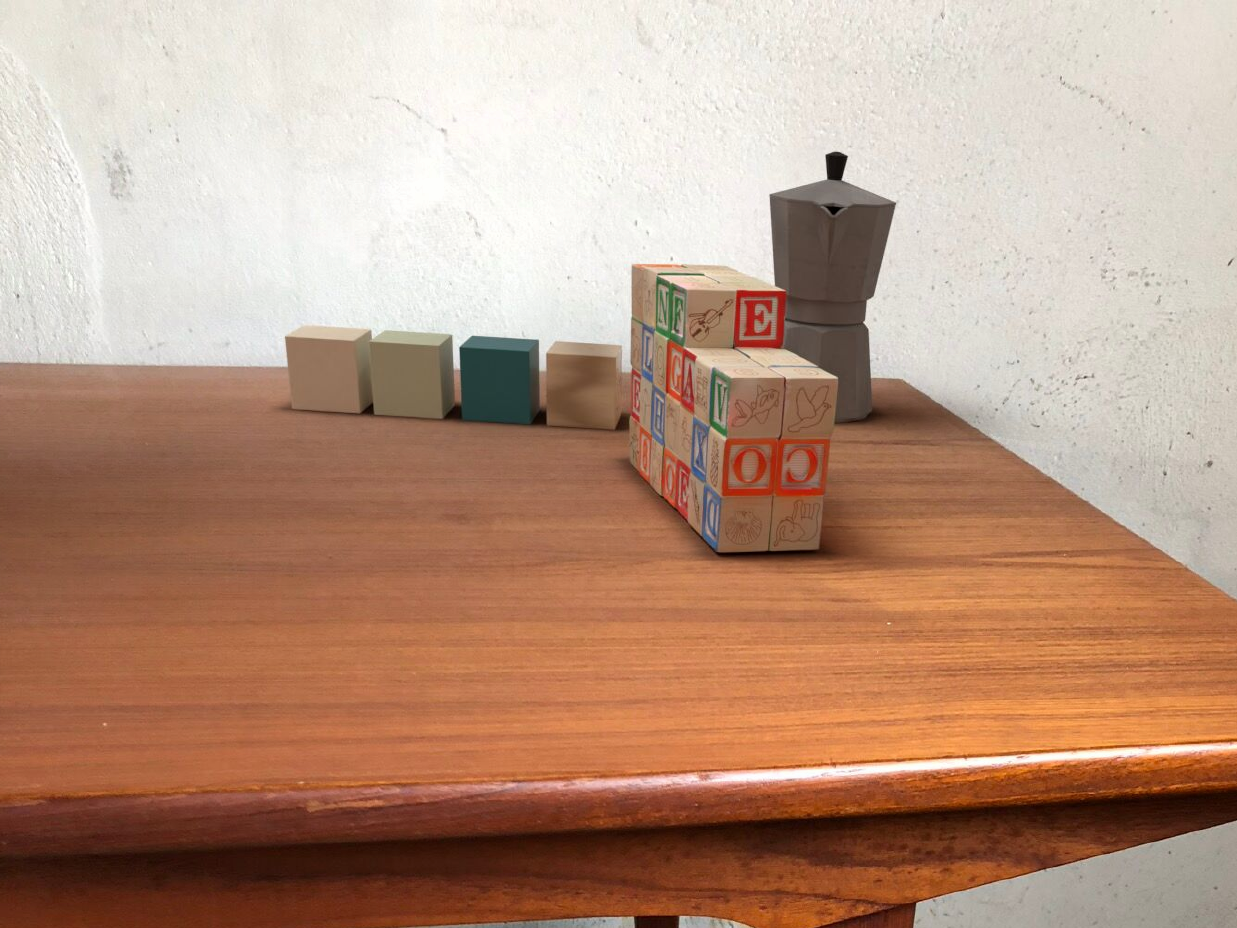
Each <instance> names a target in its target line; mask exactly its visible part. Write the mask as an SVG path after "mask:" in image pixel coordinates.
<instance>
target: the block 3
mask: <svg viewBox="0 0 1237 928" xmlns="http://www.w3.org/2000/svg"><path fill="white" fill-rule="evenodd" d="M545 362H546V363H545V364H546V365H545V374H546V375H545V380H546V381H545V385H546V387H545V389H546V390H545V391H546V392H545V393H546V395H545V396H546V426H548V427H561V428H562V427H563V428H578V429H596V430H607V431H608V430H609V431H615V430H616V428H617V425H618V423H619V421H620V418H621V415H622V379H623V378H622V377H623V370H622V369H623V345H622V344H607V343H594V342H593V343H591V342H576V341H560V340H555V341H554V342H553V343H552V345H551V346H550V347H549V349H548V350H547V351H546V353H545Z"/></svg>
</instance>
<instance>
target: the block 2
mask: <svg viewBox="0 0 1237 928" xmlns="http://www.w3.org/2000/svg"><path fill="white" fill-rule="evenodd" d="M453 342H454V341H453V334H451V333H437V332H433V333H432V332H422V331H421V332H420V331H406V330H405V331H404V330H392V329H391V330H389V329H385V330H383V331H382V332H380V333H378V334H377V335H376V336H374V337H372V340H370V341H369V349H370V363H371V377H372V391H373V403H372V404H373V405H372V406H373V415H375V416H389V417H402V418H403V417H405V418H418V419H435V420H443V419H444V418H445V417H446V416H447V415H448V414H449V412H451V410H452V409H453V408H454V407H455V406H456V391H455V368H454V366H455V365H454V364H455V363H454V343H453Z"/></svg>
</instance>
